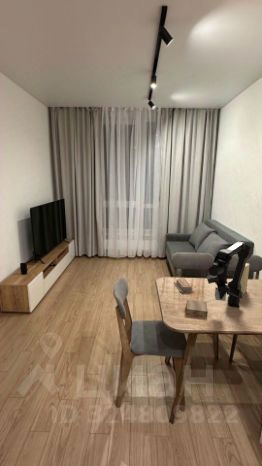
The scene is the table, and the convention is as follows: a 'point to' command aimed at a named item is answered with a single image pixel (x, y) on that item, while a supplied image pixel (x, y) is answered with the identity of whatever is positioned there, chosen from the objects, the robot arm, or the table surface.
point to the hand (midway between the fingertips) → (220, 296)
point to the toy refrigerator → (245, 278)
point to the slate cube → (218, 295)
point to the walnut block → (196, 308)
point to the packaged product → (183, 286)
